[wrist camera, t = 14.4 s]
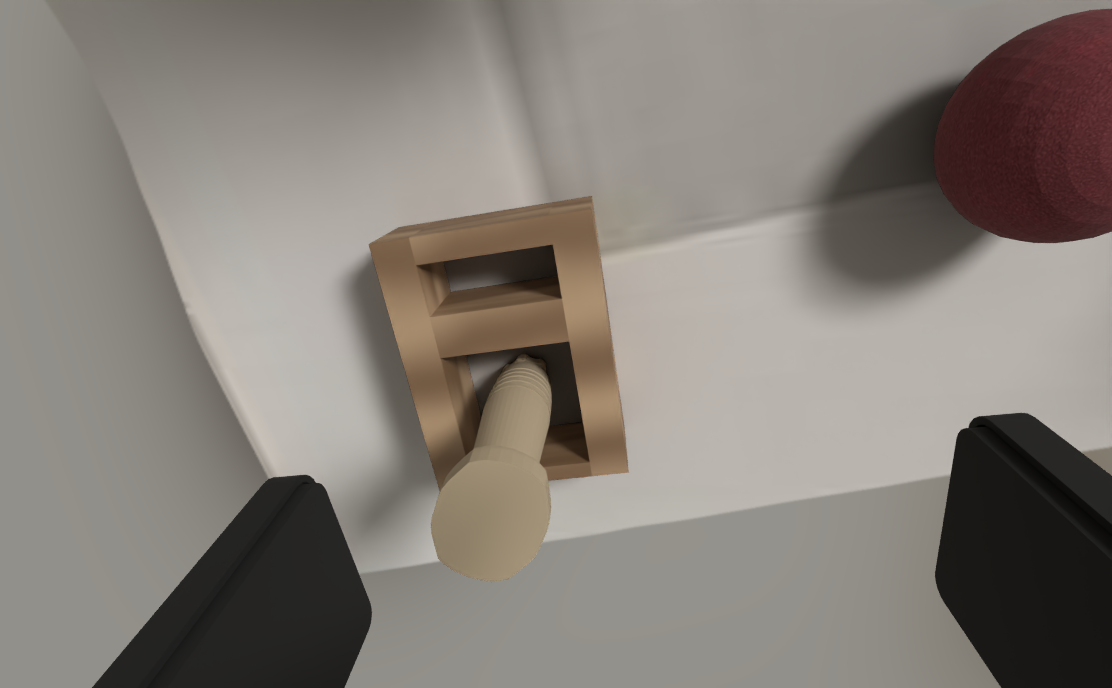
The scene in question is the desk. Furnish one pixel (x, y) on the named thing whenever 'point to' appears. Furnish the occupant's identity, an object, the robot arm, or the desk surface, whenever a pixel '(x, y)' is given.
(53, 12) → the desk surface
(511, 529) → the handle
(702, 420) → the desk surface
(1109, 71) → the decorative ball
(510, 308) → the wooden shelf
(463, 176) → the desk surface
